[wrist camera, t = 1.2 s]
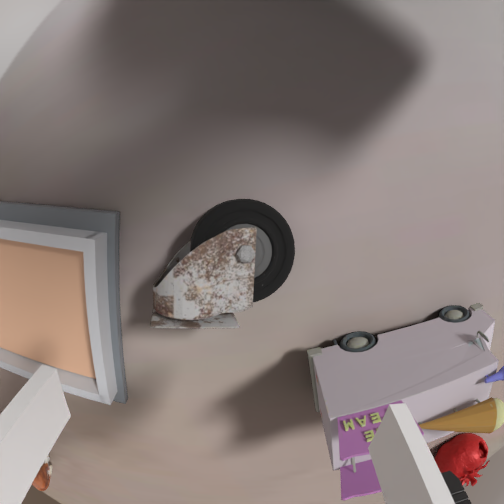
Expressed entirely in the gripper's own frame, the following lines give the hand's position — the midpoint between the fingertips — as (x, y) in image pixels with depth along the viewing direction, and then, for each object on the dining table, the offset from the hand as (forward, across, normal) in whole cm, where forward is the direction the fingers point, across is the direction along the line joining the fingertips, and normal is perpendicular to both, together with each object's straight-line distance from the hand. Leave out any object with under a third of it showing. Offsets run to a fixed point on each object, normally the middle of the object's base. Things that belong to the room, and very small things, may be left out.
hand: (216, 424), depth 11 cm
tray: (+19, -22, -7) cm, 30 cm away
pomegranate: (+19, +37, -28) cm, 50 cm away
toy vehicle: (+19, +18, -8) cm, 27 cm away
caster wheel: (+19, -1, +1) cm, 19 cm away
